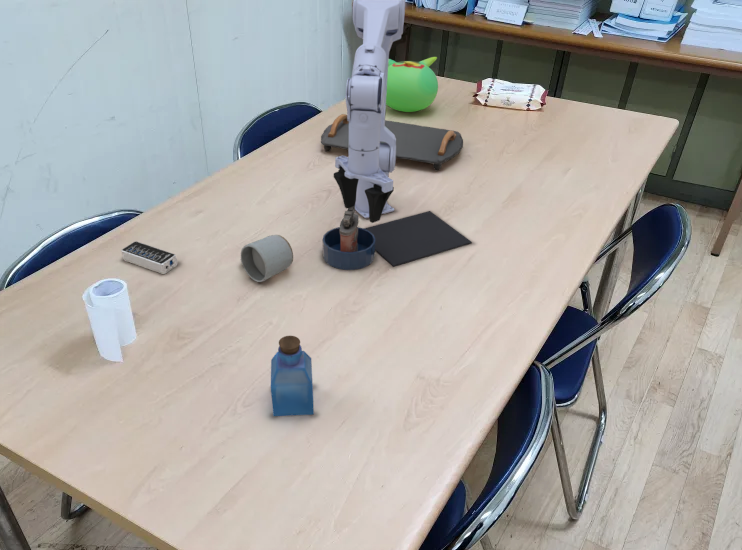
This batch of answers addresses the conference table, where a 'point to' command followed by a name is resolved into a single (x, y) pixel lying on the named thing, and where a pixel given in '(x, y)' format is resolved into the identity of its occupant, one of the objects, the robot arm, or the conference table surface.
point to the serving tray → (403, 141)
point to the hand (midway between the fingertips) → (362, 213)
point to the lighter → (349, 231)
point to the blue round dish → (348, 259)
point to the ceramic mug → (266, 257)
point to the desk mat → (415, 238)
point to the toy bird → (411, 85)
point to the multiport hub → (149, 257)
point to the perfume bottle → (291, 379)
